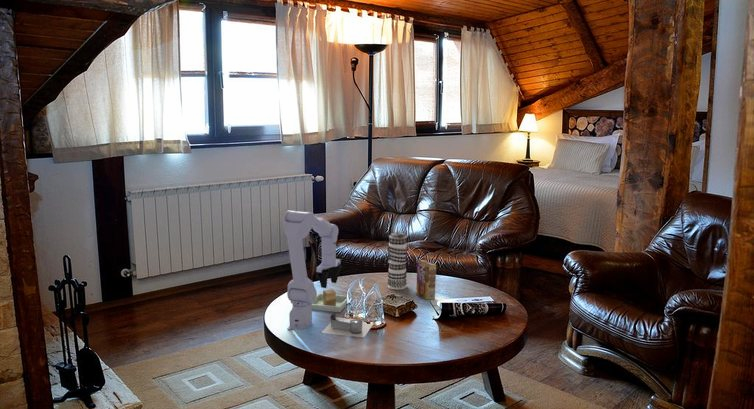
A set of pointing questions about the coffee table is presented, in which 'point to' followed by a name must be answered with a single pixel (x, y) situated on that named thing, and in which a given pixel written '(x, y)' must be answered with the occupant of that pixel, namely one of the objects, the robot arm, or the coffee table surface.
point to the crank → (346, 324)
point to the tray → (319, 305)
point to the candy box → (426, 279)
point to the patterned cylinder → (397, 261)
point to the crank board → (337, 331)
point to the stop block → (329, 297)
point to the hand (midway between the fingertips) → (328, 285)
